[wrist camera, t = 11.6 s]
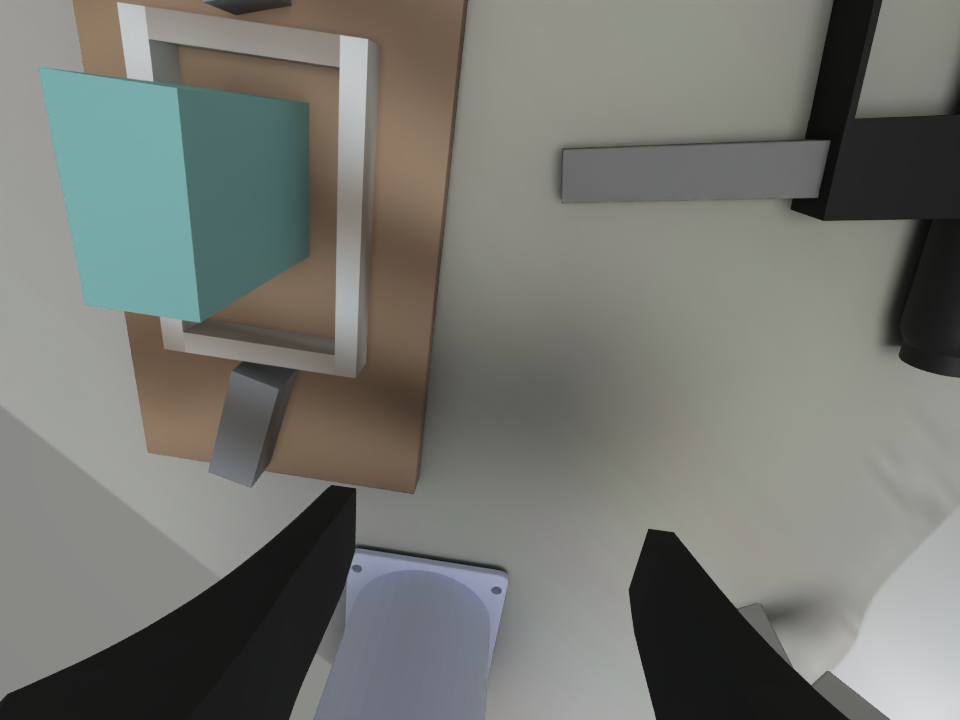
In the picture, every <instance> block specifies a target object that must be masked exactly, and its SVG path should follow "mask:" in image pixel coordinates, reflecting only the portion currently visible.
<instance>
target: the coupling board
mask: <svg viewBox="0 0 960 720" xmlns="http://www.w3.org/2000/svg"><path fill="white" fill-rule="evenodd" d="M467 2H468V0H73V5H74V11H75V17H76V23H77V29H78V35H79V41H80V47H81V53H82V59H83V65H84V71H85V73H88V74H96V75H104V76H112V77H121V78H129V79H137V80H145V81H153V82H161V83H169V84H177V85H185V86H193V87H201V88H209V89H217V90H225V91H232V92H238V93H245V94H252V95H258V96H265V97H271V98H278V99H285V100H291V101H298V102H305V103H309V185H310V256H309V257H307V258H306V259H304V260H302V261H301V262H299V263H297V264H296V265H294V266H293V267H291V268H289V269H288V270H286V271H284V272H283V273H281V274H279V275H278V276H276V277H275V278H273V279H271V280H270V281H268V282H266V283H265V284H263V285H261V286H260V287H258V288H257V289H255V290H253V291H252V292H250V293H248V294H247V295H245V296H243V297H242V298H240V299H239V300H237V301H235V302H234V303H232V304H230V305H229V306H227V307H225V308H224V309H222V310H221V311H219V312H217V313H216V314H214V315H212V316H211V317H209V318H207V319H206V320H204V321H203V322H201V323H198V322H192V321H185V320H179V319H172V318H166V317H159V316H153V315H146V314H140V313H133V312H127V311H124V312H125V318H126V324H127V330H128V336H129V342H130V348H131V354H132V360H133V366H134V372H135V378H136V384H137V390H138V396H139V402H140V408H141V414H142V420H143V426H144V432H145V438H146V444H147V450H148V453H153V454H159V455H166V456H172V457H179V458H185V459H191V460H198V461H204V462H210V467H209V471H208V472H209V473H212V474H215V475H217V476H220V477H223V478H226V479H228V480H231V481H234V482H237V483H239V484H242V485H245V486H247V487H250V488H251V487H252V486H253V485H254V483H255V482H256V481H257V479H258V478H259V477H260V475H261V474H262V473H263V471H269V472H275V473H281V474H288V475H294V476H301V477H307V478H314V479H320V480H326V481H333V482H339V483H346V484H352V485H359V486H365V487H371V488H378V489H384V490H391V491H397V492H403V493H410V494H414V492H415V489H416V485H417V482H418V475H419V466H420V456H421V446H422V437H423V427H424V417H425V408H426V398H427V388H428V379H429V369H430V360H431V350H432V340H433V331H434V321H435V311H436V302H437V292H438V282H439V273H440V263H441V253H442V244H443V234H444V224H445V215H446V205H447V195H448V186H449V176H450V166H451V157H452V147H453V138H454V128H455V118H456V109H457V99H458V89H459V80H460V70H461V60H462V51H463V41H464V31H465V22H466V12H467Z"/></svg>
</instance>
